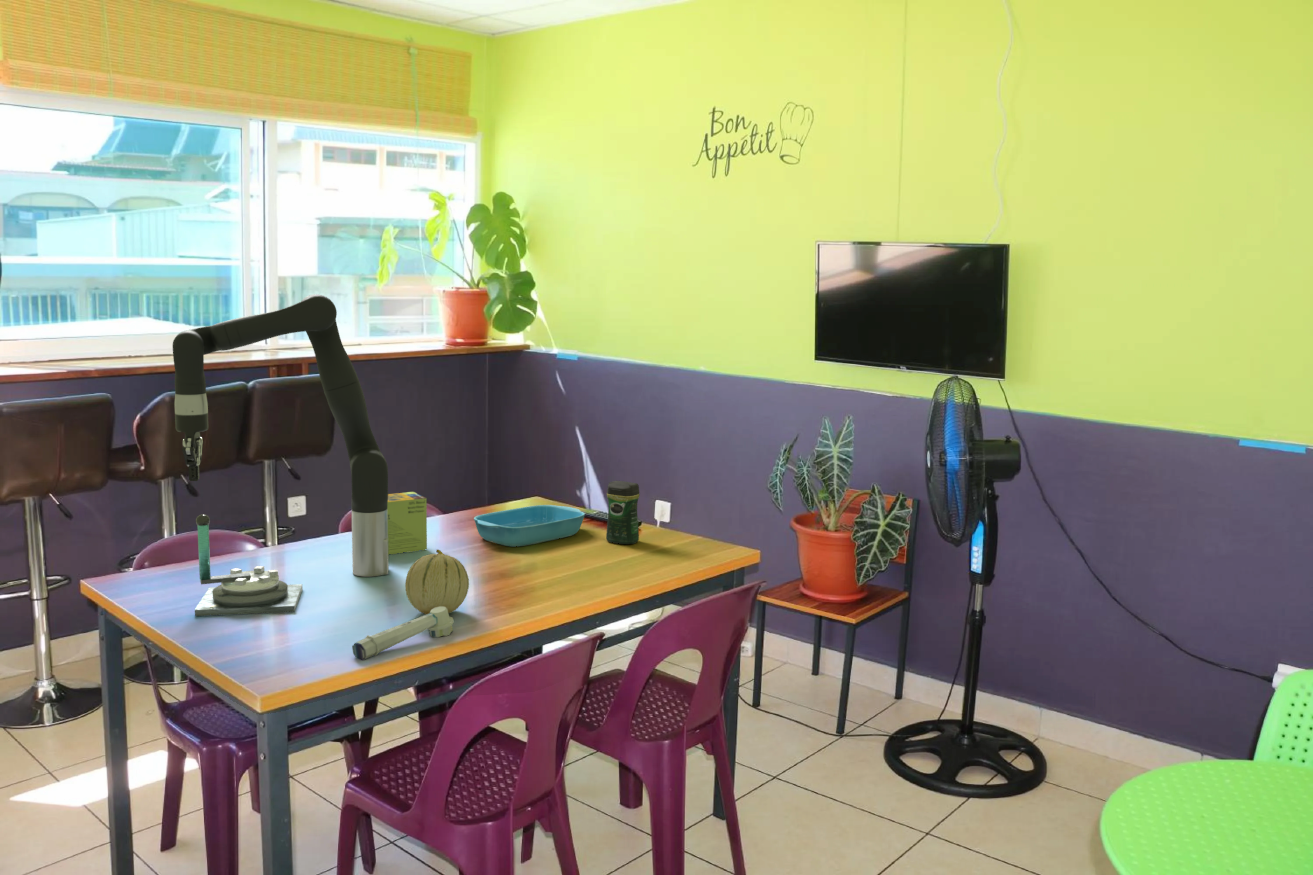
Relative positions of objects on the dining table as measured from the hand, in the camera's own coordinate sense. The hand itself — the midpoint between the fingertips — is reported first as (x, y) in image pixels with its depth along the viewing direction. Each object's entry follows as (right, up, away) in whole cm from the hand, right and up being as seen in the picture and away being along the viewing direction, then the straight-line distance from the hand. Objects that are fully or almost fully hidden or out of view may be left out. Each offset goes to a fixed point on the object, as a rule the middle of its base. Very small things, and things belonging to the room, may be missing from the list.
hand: (194, 480), depth 271 cm
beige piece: (+61, -35, -35) cm, 79 cm away
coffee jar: (+105, -21, +58) cm, 122 cm away
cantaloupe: (+64, -31, -14) cm, 72 cm away
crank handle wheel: (+15, -26, -11) cm, 32 cm away
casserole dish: (+77, -20, +62) cm, 101 cm away
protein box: (+40, -22, +43) cm, 63 cm away
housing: (+18, -29, -9) cm, 35 cm away
